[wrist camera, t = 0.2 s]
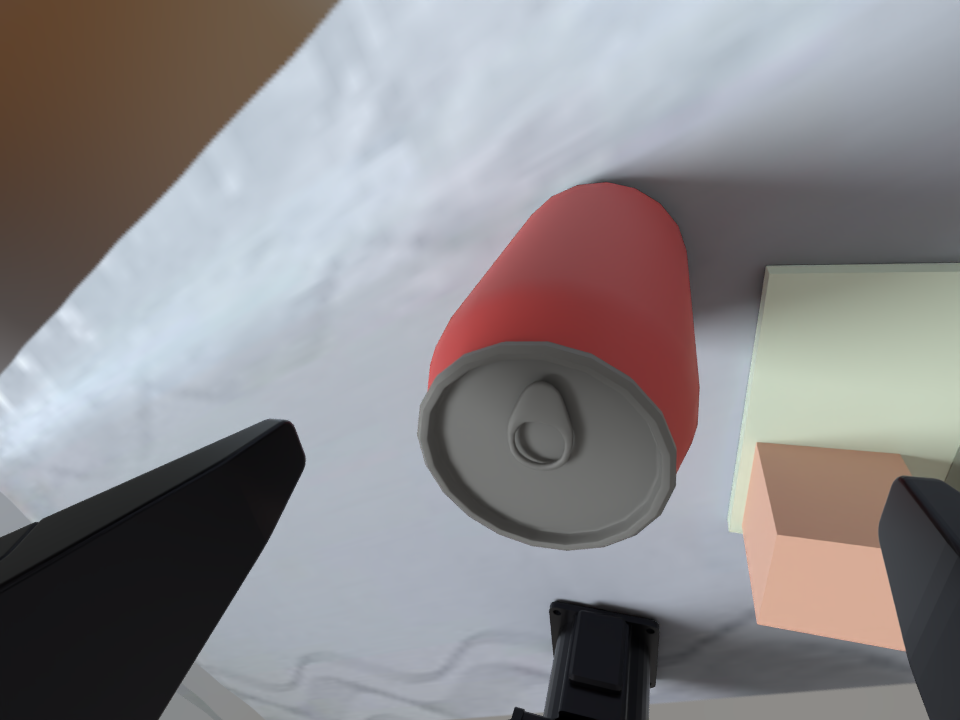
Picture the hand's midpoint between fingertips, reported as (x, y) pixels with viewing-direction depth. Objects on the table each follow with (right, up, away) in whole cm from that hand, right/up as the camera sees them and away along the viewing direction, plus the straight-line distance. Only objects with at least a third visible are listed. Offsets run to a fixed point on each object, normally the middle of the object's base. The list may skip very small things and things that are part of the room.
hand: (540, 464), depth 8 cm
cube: (+13, -4, +14) cm, 20 cm away
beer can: (+4, +6, +13) cm, 15 cm away
